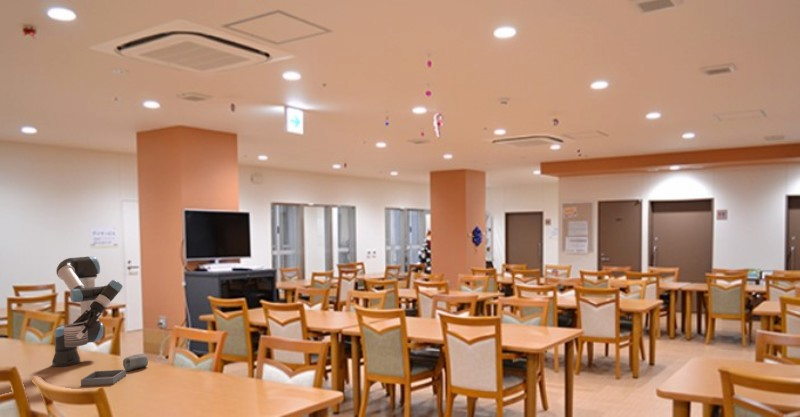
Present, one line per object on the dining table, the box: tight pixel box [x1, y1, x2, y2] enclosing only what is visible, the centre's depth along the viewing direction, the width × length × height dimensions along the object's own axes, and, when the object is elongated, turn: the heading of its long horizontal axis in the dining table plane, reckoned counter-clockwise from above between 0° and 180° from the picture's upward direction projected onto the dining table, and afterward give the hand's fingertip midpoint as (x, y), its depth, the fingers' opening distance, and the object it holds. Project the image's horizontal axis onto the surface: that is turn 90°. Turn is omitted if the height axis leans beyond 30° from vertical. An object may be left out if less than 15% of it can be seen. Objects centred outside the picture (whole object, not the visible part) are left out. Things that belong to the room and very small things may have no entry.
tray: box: [80, 369, 127, 387], centre depth 316 cm, size 17×17×4 cm
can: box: [63, 322, 89, 347], centre depth 320 cm, size 11×11×12 cm
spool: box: [122, 353, 149, 372], centre depth 339 cm, size 14×10×10 cm
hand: (72, 337), depth 318 cm, fingers closed on can, 11 cm apart
